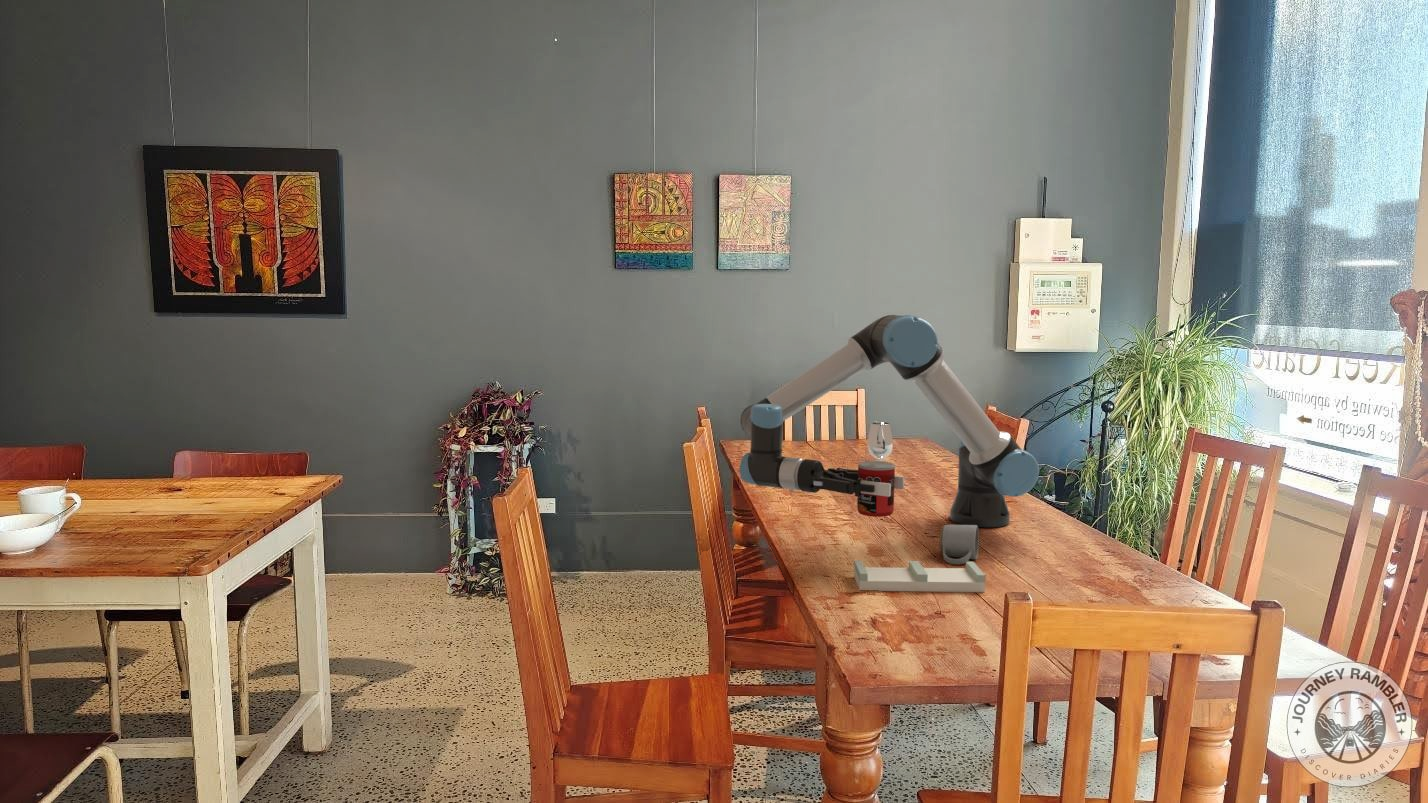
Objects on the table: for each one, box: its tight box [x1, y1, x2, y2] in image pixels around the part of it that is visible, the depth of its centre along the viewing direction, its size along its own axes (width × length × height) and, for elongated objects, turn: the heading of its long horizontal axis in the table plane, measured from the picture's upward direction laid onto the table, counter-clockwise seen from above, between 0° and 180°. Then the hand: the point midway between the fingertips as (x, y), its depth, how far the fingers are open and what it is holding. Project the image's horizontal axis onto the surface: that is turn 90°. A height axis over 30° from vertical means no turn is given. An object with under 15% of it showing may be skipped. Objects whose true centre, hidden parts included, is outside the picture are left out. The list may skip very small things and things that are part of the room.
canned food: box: [856, 460, 896, 518], centre depth 190 cm, size 8×8×11 cm
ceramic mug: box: [938, 524, 980, 566], centre depth 194 cm, size 11×8×8 cm
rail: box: [853, 559, 986, 593], centre depth 177 cm, size 25×9×4 cm, turn 88°
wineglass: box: [866, 421, 894, 461], centre depth 268 cm, size 8×8×20 cm
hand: (896, 486), depth 187 cm, fingers closed on canned food, 8 cm apart
